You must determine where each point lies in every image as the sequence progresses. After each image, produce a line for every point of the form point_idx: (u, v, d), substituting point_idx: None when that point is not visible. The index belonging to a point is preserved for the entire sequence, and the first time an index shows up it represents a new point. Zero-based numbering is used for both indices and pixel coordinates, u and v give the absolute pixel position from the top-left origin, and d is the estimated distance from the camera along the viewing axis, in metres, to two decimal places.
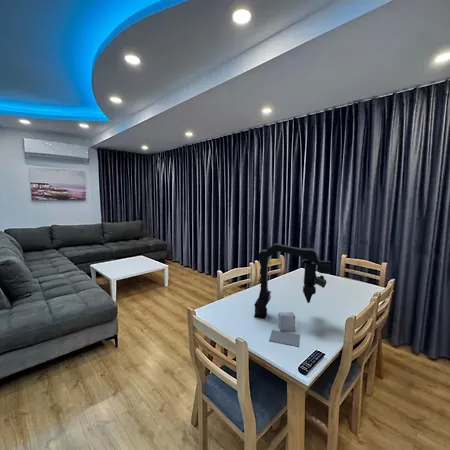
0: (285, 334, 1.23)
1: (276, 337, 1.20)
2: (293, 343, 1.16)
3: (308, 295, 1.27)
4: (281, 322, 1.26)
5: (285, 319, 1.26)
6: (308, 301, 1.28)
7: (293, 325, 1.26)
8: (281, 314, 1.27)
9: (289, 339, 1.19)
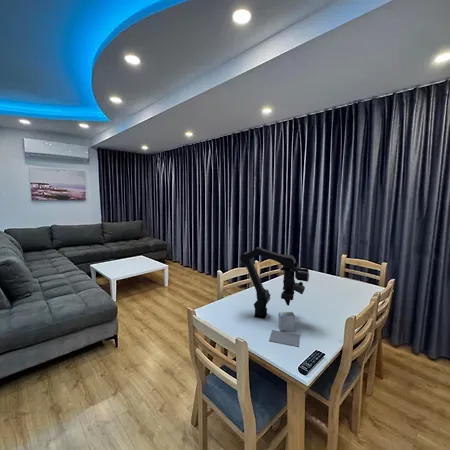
0: (285, 334, 1.23)
1: (276, 337, 1.20)
2: (293, 343, 1.16)
3: None
4: (281, 322, 1.26)
5: (285, 319, 1.26)
6: (287, 304, 1.35)
7: (293, 325, 1.26)
8: (281, 314, 1.27)
9: (289, 339, 1.19)
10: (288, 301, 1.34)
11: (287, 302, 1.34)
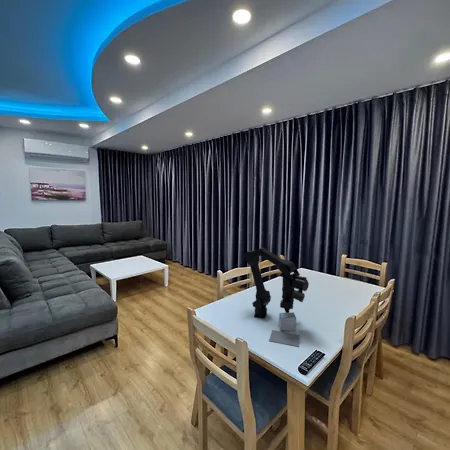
0: (285, 334, 1.23)
1: (276, 337, 1.20)
2: (293, 343, 1.16)
3: None
4: (282, 323, 1.25)
5: (286, 321, 1.25)
6: (287, 312, 1.29)
7: (293, 326, 1.26)
8: (282, 315, 1.25)
9: (289, 339, 1.19)
10: (287, 309, 1.28)
11: (286, 310, 1.28)
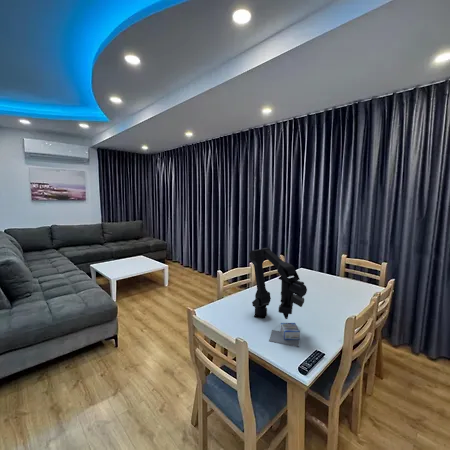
0: None
1: (276, 337, 1.20)
2: (293, 343, 1.16)
3: None
4: None
5: None
6: (286, 317, 1.24)
7: None
8: (286, 336, 1.18)
9: None
10: (286, 314, 1.23)
11: (285, 315, 1.24)
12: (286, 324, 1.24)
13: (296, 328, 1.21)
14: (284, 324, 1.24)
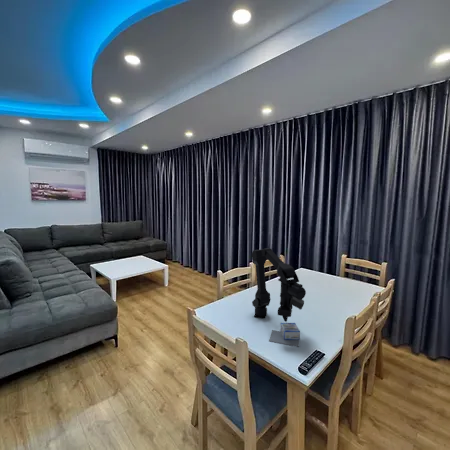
0: None
1: (276, 337, 1.20)
2: (293, 343, 1.16)
3: None
4: None
5: None
6: (285, 320, 1.22)
7: None
8: (286, 336, 1.18)
9: None
10: (286, 317, 1.21)
11: (285, 318, 1.21)
12: (286, 324, 1.24)
13: (296, 328, 1.21)
14: (284, 324, 1.24)
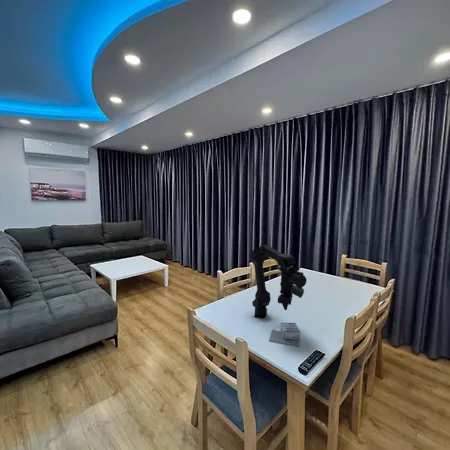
0: None
1: (276, 337, 1.20)
2: (293, 343, 1.16)
3: None
4: None
5: None
6: (285, 308, 1.23)
7: None
8: (286, 336, 1.18)
9: None
10: (286, 305, 1.22)
11: (285, 306, 1.22)
12: (286, 324, 1.24)
13: (296, 328, 1.21)
14: (284, 324, 1.24)
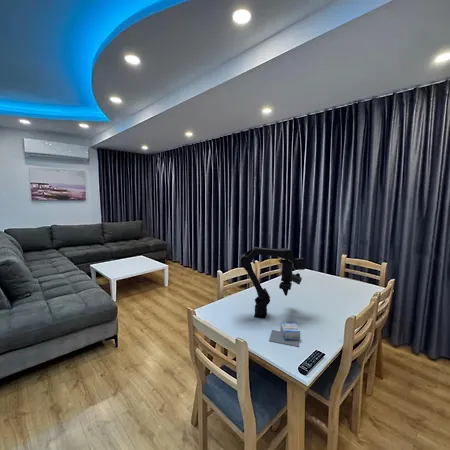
0: None
1: (276, 337, 1.20)
2: (293, 343, 1.16)
3: (285, 289, 1.41)
4: None
5: None
6: (285, 294, 1.42)
7: None
8: (286, 336, 1.18)
9: None
10: (286, 291, 1.41)
11: (285, 292, 1.42)
12: (286, 324, 1.24)
13: (296, 328, 1.21)
14: (284, 324, 1.24)
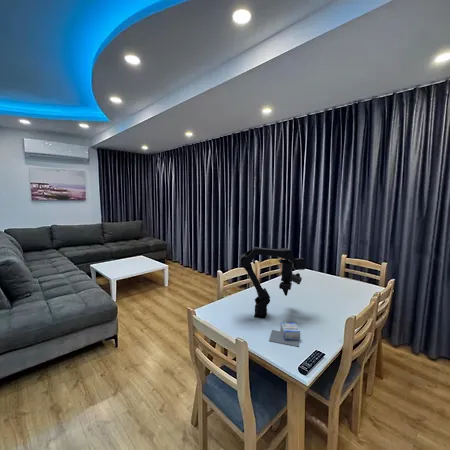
0: None
1: (276, 337, 1.20)
2: (293, 343, 1.16)
3: (285, 289, 1.41)
4: None
5: None
6: (285, 294, 1.42)
7: None
8: (286, 336, 1.18)
9: None
10: (286, 291, 1.42)
11: (285, 292, 1.42)
12: (286, 324, 1.24)
13: (296, 328, 1.21)
14: (284, 324, 1.24)
